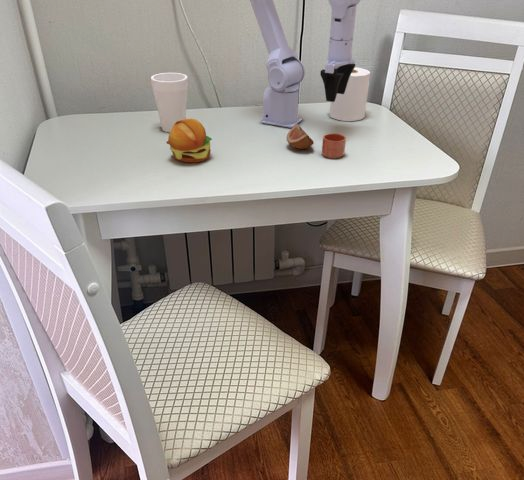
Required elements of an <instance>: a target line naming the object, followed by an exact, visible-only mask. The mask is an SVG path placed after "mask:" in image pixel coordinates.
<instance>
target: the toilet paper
mask: <svg viewBox="0 0 524 480" xmlns="http://www.w3.org/2000/svg"><path fill="white" fill-rule="evenodd" d="M370 79H371V71H369V70H368V69H366V68H363V67H357V66H355V68H354V69H353V71H352V73H351V75H350V77H349V80H348V83H347V87H346V90H345V93H344V94H338V93H337V95H336V99H335V101H334V102H330V101H329V102H330V103H329V116H330V118H332V119H334V120H336V121H343V122H355V121H361V120H363V119H364V118H366V117H365V116H366V110H367V109H366V108H367V102H368V93H369V87H370Z"/></svg>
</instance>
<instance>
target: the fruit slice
mask: <svg viewBox="0 0 524 480" xmlns="http://www.w3.org/2000/svg"><path fill="white" fill-rule="evenodd" d="M286 142H287V143H288V144H289V145H290V146H291V147H293V148H295V149H299V150H304V149H307V148H310V147H312V146H313V145H314V144H315V142H314V140H313V139H312V138H311V137H310V136H309V134H307V132H305V130H304V129H303V128H302V127H301V126H300V125H299V123H298V124H296V125H295V126H294V127H293V128H290V129H289V131H288V133H287V134H286Z"/></svg>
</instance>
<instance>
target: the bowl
mask: <svg viewBox="0 0 524 480" xmlns="http://www.w3.org/2000/svg"><path fill="white" fill-rule="evenodd" d="M346 142H347V136H345V135H343V134H340V133H326V134H324V135H323V136H322V144H321V154H322V155H323V156H324V157H325V158H328V159H332V160H333V159H341V158H342V157H343V156H345V152H346V145H347V144H346Z"/></svg>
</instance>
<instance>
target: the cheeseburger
mask: <svg viewBox="0 0 524 480" xmlns="http://www.w3.org/2000/svg"><path fill="white" fill-rule="evenodd" d="M206 131H207V130H206V127H204V125H203V124H202V123H201V121H199V120H197V119H196V118H186V119H184V120H180V121H177V122H176V123H175V124H174V126H173V128H172V130H171V132H169V134H168V138H167V139H168V140H167V141H165V142H166V144H167V145H169V150H170V152H171V153H172V155H173V158H174V159H176V160H177V161H180V162H184V163H200V162H203V161H206V160H207V159H209V158H210V155H211V141H212V140H213V138H211V137H210V136H208V135H207V132H206Z"/></svg>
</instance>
